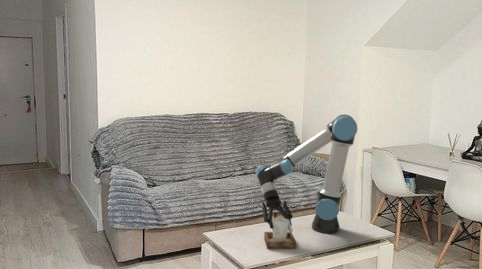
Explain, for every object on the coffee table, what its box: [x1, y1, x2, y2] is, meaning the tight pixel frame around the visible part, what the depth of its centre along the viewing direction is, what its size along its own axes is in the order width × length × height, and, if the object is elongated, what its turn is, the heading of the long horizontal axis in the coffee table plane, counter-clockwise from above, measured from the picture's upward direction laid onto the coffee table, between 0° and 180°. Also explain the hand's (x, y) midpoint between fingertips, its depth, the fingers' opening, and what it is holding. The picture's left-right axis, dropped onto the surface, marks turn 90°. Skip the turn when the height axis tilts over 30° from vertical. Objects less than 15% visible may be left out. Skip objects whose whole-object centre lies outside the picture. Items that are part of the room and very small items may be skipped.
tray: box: [263, 231, 297, 250], centre depth 217 cm, size 14×14×4 cm
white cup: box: [272, 217, 289, 241], centre depth 217 cm, size 8×8×10 cm
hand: (283, 233), depth 213 cm, fingers open, 8 cm apart
